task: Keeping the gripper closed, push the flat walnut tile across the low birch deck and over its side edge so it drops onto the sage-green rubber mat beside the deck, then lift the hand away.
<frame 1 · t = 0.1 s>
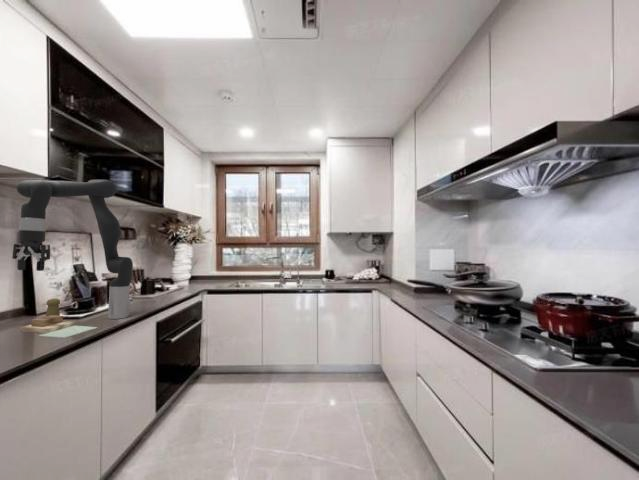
hand: (30, 270, 115), 29 cm above the worktop, tool pointing down, fingers open, 8 cm apart
sage mat: (69, 331, 131), on the worktop
walnut tile: (47, 320, 136), point 3 cm above the worktop, touching birch deck
birch deck: (49, 328, 136), on the worktop
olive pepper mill: (52, 320, 150), on the worktop
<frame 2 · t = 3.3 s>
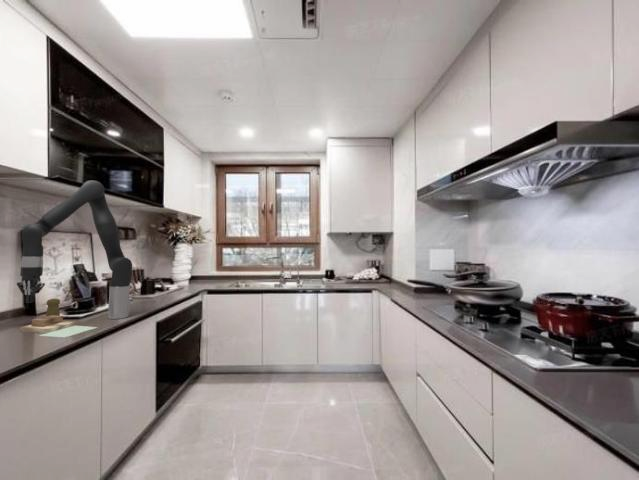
hand: (29, 302, 137), 12 cm above the worktop, tool pointing down, fingers closed
nothing on the worktop moved.
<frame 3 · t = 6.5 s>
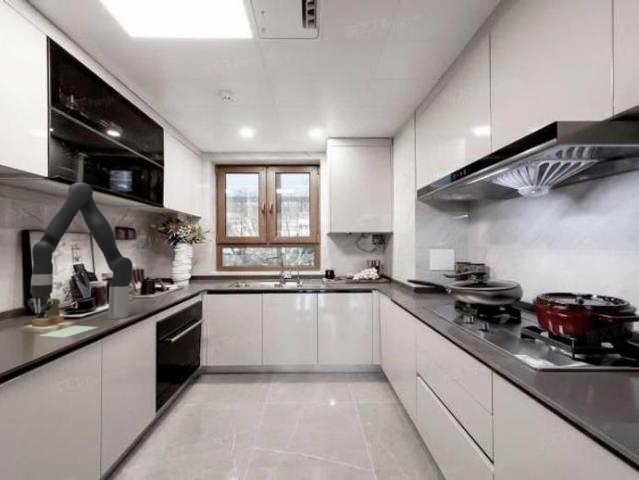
hand: (40, 320, 136), 3 cm above the worktop, tool pointing down, fingers closed
walnut tile: (48, 321, 136), point 3 cm above the worktop, touching birch deck, gripper
everything else where it was.
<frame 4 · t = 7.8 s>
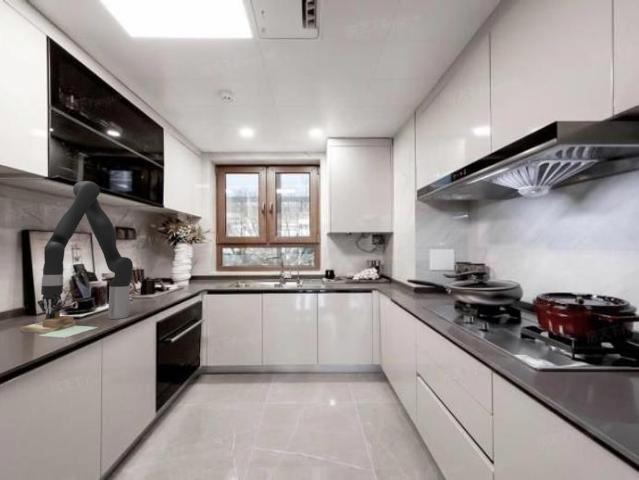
hand: (50, 321, 136), 4 cm above the worktop, tool pointing down, fingers closed
walnut tile: (58, 321, 135), point 4 cm above the worktop, touching gripper
everything else where it was.
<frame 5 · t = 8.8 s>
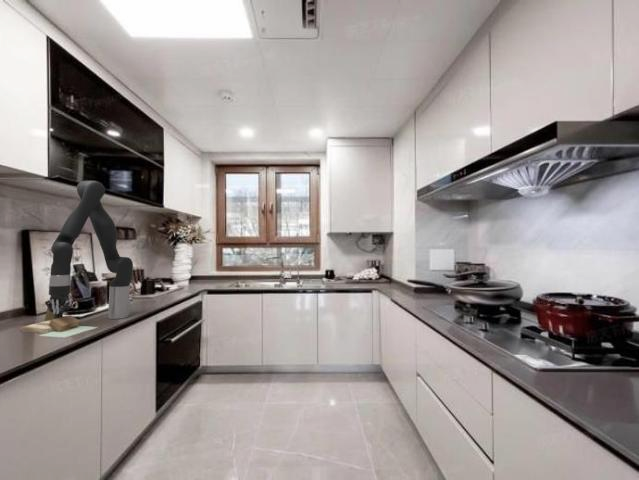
hand: (58, 321, 135), 4 cm above the worktop, tool pointing down, fingers closed
walnut tile: (65, 323, 134), point 3 cm above the worktop, tilted 25°, touching gripper, sage mat
everything else where it was.
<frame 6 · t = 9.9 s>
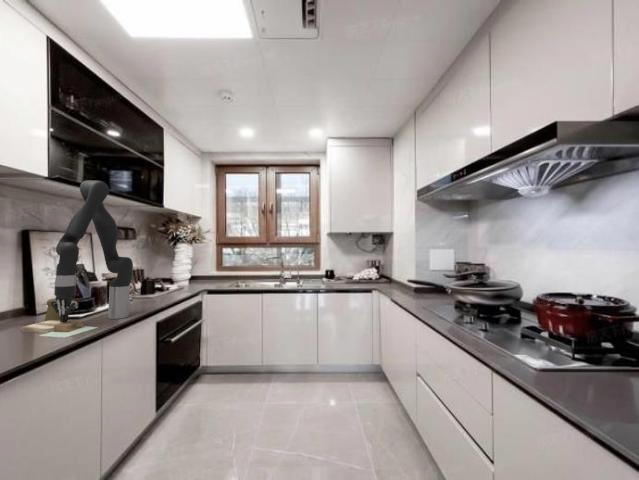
hand: (63, 321, 135), 3 cm above the worktop, tool pointing down, fingers closed
walnut tile: (69, 326, 134), point 2 cm above the worktop, touching sage mat
everything else where it was.
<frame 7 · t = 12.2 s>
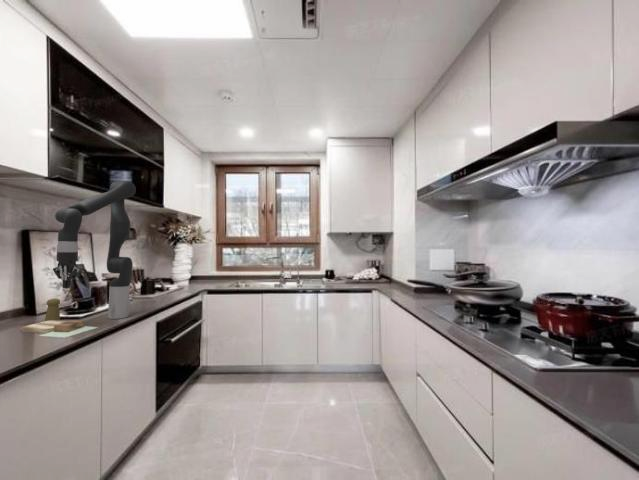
hand: (66, 288, 135), 19 cm above the worktop, tool pointing down, fingers closed
nothing on the worktop moved.
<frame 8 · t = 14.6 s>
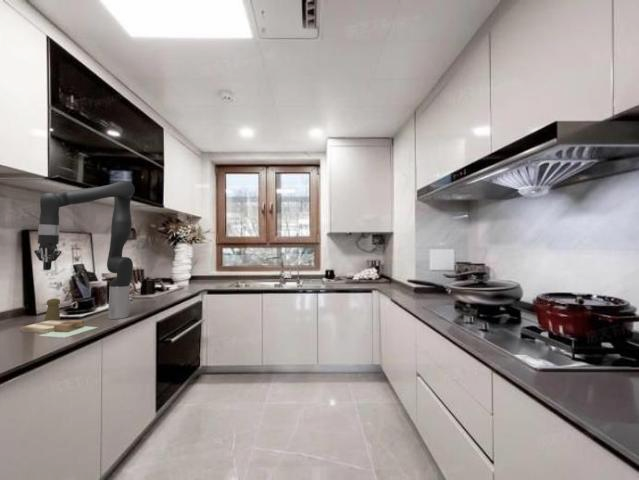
hand: (47, 269, 141), 27 cm above the worktop, tool pointing down, fingers closed
nothing on the worktop moved.
at the end: walnut tile point 1.9 cm above the worktop; walnut tile inside the target area (3.3 cm from its centre), point 1.9 cm above the worktop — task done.
